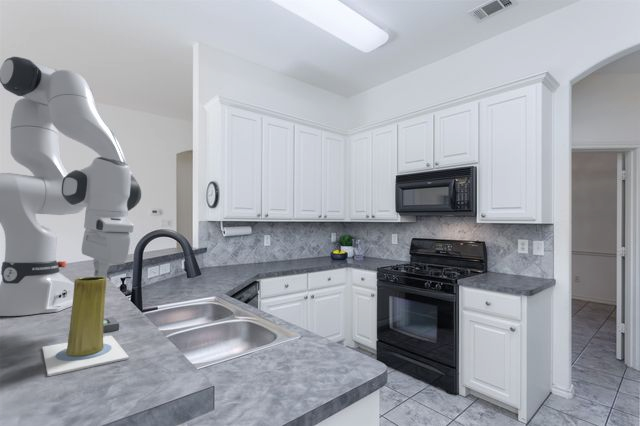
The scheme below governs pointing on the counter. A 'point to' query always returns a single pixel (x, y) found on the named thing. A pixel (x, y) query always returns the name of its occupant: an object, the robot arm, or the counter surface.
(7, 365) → the counter surface
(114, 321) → the button collar
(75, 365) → the paper pad
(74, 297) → the vase
